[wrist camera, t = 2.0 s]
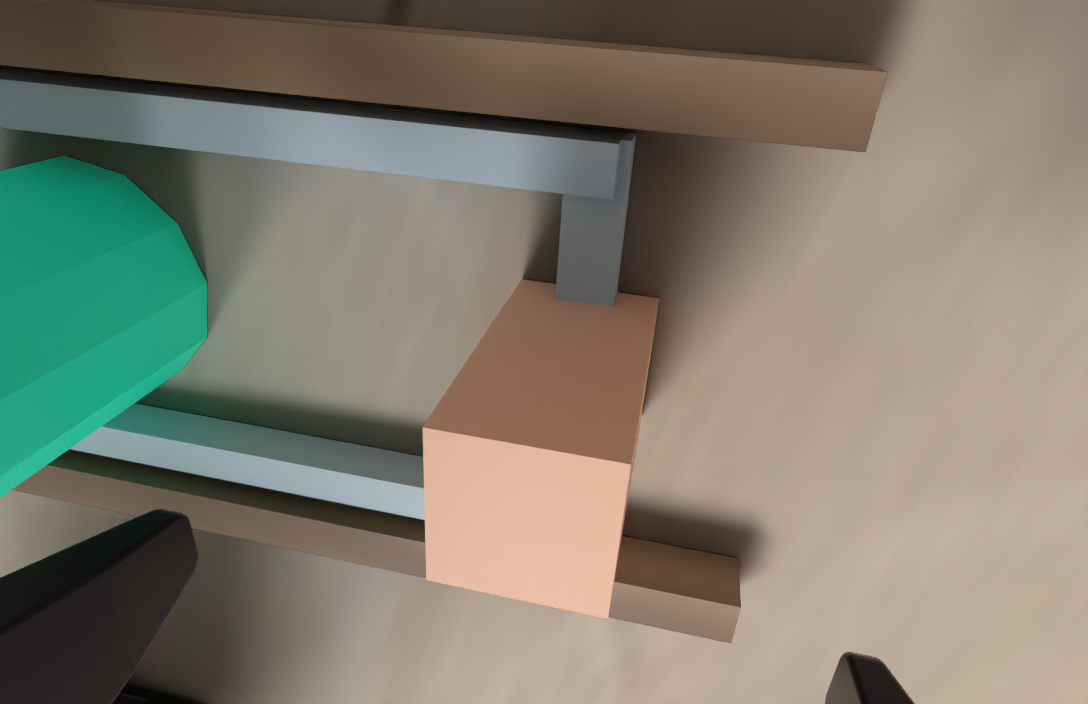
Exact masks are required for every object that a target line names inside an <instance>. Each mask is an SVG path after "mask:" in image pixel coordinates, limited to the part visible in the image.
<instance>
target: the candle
mask: <svg viewBox="0 0 1088 704" xmlns="http://www.w3.org/2000/svg"><path fill="white" fill-rule="evenodd" d="M206 338H207V282H206V280H205V278H204V276H203V274H202V272H201V270H200V268H199V266H198V264H197V262H196V260H195V257H194V255H193V253H192V251H191V249H190V247H189V245H188V243H187V241H186V239H185V237H184V235H183V233H182V231H181V229H180V227H179V225H178V223H177V222H176V221H175V220H174V219H172V218H171V217H170V216H169V215H168V214H167V213H166V212H165V211H164V210H162V209H161V208H160V207H159V206H158V205H157V204H156V203H155V202H154V201H153V200H151V199H150V198H149V197H148V196H147V195H146V194H145V193H144V192H143V191H141V190H140V189H139V188H138V187H137V186H136V185H135V184H134V183H133V182H132V181H130V180H129V179H128V178H127V177H126V176H125V175H123V174H120V173H117V172H114V171H111V170H108V169H104V168H101V167H98V166H95V165H92V164H89V163H86V162H83V161H80V160H77V159H73V158H70V157H67V156H60V157H56V158H52V159H48V160H44V161H40V162H35V163H31V164H27V165H23V166H19V167H15V168H11V169H7V170H3V171H0V498H1V497H2V496H3V495H5V494H6V493H8V492H9V491H11V490H12V489H13V488H15V487H16V486H18V485H19V484H21V483H22V482H23V481H25V480H26V479H28V478H29V477H31V476H32V475H33V474H35V473H36V472H38V471H39V470H40V469H42V468H43V467H45V466H46V465H48V464H49V463H50V462H52V461H53V460H55V459H56V458H58V457H59V456H60V455H62V454H63V453H65V452H66V451H67V450H69V449H70V448H72V447H73V446H75V445H76V444H77V443H79V442H80V441H82V440H83V439H85V438H86V437H87V436H89V435H90V434H92V433H93V432H95V431H96V430H97V429H99V428H100V427H102V426H103V425H104V424H106V423H107V422H109V421H110V420H112V419H113V418H114V417H116V416H117V415H119V414H120V413H122V412H123V411H124V410H126V409H127V408H129V407H130V406H131V405H133V404H134V403H136V402H137V401H139V400H140V399H141V398H143V397H144V396H146V395H147V394H149V393H150V392H151V391H153V390H154V389H156V388H157V387H159V386H160V385H161V384H163V383H164V382H166V381H167V380H168V379H170V378H171V377H173V376H174V375H176V374H177V373H178V372H180V371H181V370H182V369H183V367H184V366H185V365H186V363H187V362H188V361H189V360H190V358H191V357H192V356H193V355H194V353H195V352H196V351H197V349H198V348H199V347H200V346H201V344H202V343H203V342H204V341H205V339H206Z"/></svg>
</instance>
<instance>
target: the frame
mask: <svg viewBox="0 0 1088 704" xmlns="http://www.w3.org/2000/svg"><path fill="white" fill-rule="evenodd" d="M0 128H8V129H16V130H25V131H33V132H42V133H50V134H59V135H67V136H76V137H84V138H93V139H101V140H110V141H118V142H127V143H135V144H144V145H152V146H161V147H169V148H178V149H186V150H195V151H203V152H211V153H220V154H228V155H237V156H245V157H254V158H262V159H271V160H279V161H288V162H296V163H305V164H313V165H322V166H330V167H339V168H347V169H356V170H364V171H373V172H381V173H390V174H398V175H407V176H415V177H424V178H432V179H441V180H449V181H458V182H466V183H475V184H483V185H492V186H500V187H509V188H517V189H526V190H534V191H543V192H551V193H560V194H563V200H562V213H561V226H560V239H559V253H558V266H557V279H556V284H553V283H545V282H538V281H531V280H524V279H522V280H521V281H520V283H519V284H518V286H517V287H516V289H515V290H514V292H513V293H512V295H511V296H510V298H509V299H508V301H507V302H506V304H505V305H504V307H503V308H502V310H501V311H500V313H499V314H498V316H497V317H496V319H495V320H494V322H493V323H492V325H491V326H490V328H489V329H488V331H487V332H486V334H485V335H484V337H483V338H482V340H481V341H480V343H479V344H478V346H477V347H476V348H475V350H474V351H473V353H472V354H471V356H470V357H469V359H468V360H467V362H466V363H465V365H464V366H463V368H462V369H461V371H460V372H459V374H458V375H457V377H456V378H455V380H454V381H453V383H452V384H451V386H450V387H449V389H448V390H447V392H446V393H445V395H444V396H443V398H442V399H441V401H440V402H439V404H438V405H437V407H436V408H435V410H434V411H433V413H432V414H431V416H430V417H429V419H428V420H427V422H426V423H425V425H424V426H423V457H422V456H417V455H411V454H406V453H400V452H395V451H390V450H384V449H379V448H373V447H368V446H362V445H357V444H352V443H346V442H341V441H335V440H330V439H325V438H319V437H314V436H308V435H303V434H298V433H292V432H287V431H281V430H276V429H271V428H265V427H260V426H254V425H249V424H243V423H238V422H233V421H227V420H222V419H216V418H211V417H206V416H200V415H195V414H189V413H184V412H179V411H173V410H168V409H162V408H157V407H152V406H146V405H141V404H135V403H134V404H133V405H131V406H130V407H129V408H127V409H126V410H124V411H123V412H122V413H120V414H119V415H117V416H116V417H114V418H113V419H112V420H110V421H109V422H107V423H106V424H104V425H103V426H102V427H100V428H99V429H97V430H96V431H95V432H93V433H92V434H90V435H89V436H87V437H86V438H85V439H83V440H82V441H80V442H79V443H77V444H76V445H75V446H73V447H72V448H70V449H72V450H77V451H82V452H87V453H92V454H97V455H102V456H107V457H112V458H117V459H122V460H127V461H132V462H137V463H142V464H147V465H152V466H157V467H162V468H167V469H172V470H177V471H182V472H187V473H192V474H197V475H202V476H207V477H212V478H217V479H222V480H227V481H232V482H237V483H242V484H247V485H252V486H257V487H262V488H267V489H272V490H277V491H282V492H287V493H292V494H297V495H302V496H307V497H312V498H317V499H322V500H327V501H332V502H337V503H342V504H347V505H352V506H357V507H362V508H367V509H372V510H377V511H382V512H387V513H392V514H397V515H402V516H407V517H412V518H417V519H422V520H425V548H426V580H429V581H433V582H438V583H443V584H447V585H452V586H457V587H461V588H466V589H471V590H475V591H480V592H485V593H489V594H494V595H499V596H503V597H508V598H513V599H517V600H522V601H527V602H531V603H536V604H541V605H545V606H550V607H555V608H559V609H564V610H569V611H573V612H578V613H583V614H587V615H592V616H597V617H601V618H606V619H608V616H609V610H610V604H611V598H612V592H613V586H614V579H615V573H616V567H617V561H618V555H619V549H620V543H621V537H622V531H623V525H624V519H625V513H626V507H627V501H628V495H629V489H630V483H631V476H632V470H633V464H634V458H635V452H636V446H637V440H638V434H639V428H640V422H641V416H642V409H643V403H644V396H645V389H646V383H647V376H648V370H649V363H650V357H651V350H652V343H653V337H654V330H655V324H656V317H657V310H658V304H659V298H653V297H646V296H639V295H632V294H625V293H617V290H618V282H619V273H620V265H621V257H622V248H623V240H624V232H625V224H626V215H627V207H628V199H629V190H630V182H631V174H632V165H633V157H634V149H635V140H636V134H634V133H624V132H615V131H605V130H595V129H585V128H575V127H566V126H556V125H546V124H536V123H526V122H517V121H507V120H497V119H487V118H477V117H468V116H458V115H448V114H438V113H428V112H419V111H409V110H399V109H389V108H379V107H370V106H360V105H350V104H340V103H330V102H321V101H311V100H301V99H291V98H281V97H272V96H262V95H252V94H242V93H232V92H223V91H213V90H203V89H193V88H184V87H174V86H164V85H154V84H144V83H135V82H125V81H115V80H105V79H95V78H86V77H76V76H66V75H56V74H46V73H37V72H27V71H17V70H7V69H0Z"/></svg>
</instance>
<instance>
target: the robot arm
mask: <svg viewBox="0 0 1088 704" xmlns="http://www.w3.org/2000/svg"><path fill="white" fill-rule="evenodd" d="M197 560H198V554H197V549H196V545H195V541H194V536H193V532H192V527H191V523H190V520H189V518H188V517H187V515H186V514H184V513H181V512H177V511H172V510H167V509H155V510H153V511H150V512H148V513H145V514H143V515H141V516H139V517H136V518H134V519H132V520H130V521H127V522H125V523H123V524H121V525H118V526H116V527H114V528H112V529H109V530H107V531H105V532H103V533H100V534H98V535H96V536H94V537H91V538H89V539H87V540H85V541H82V542H80V543H78V544H76V545H73V546H71V547H69V548H66V549H64V550H62V551H60V552H57V553H55V554H53V555H51V556H48V557H46V558H44V559H42V560H39V561H37V562H35V563H33V564H30V565H28V566H26V567H24V568H21V569H19V570H17V571H15V572H12V573H10V574H8V575H6V576H3V577H1V578H0V704H191V703H187V702H183V701H179V700H176V699H172V698H168V697H164V696H160V695H156V694H152V693H148V692H145V691H141V690H137V689H133V688H129V687H125V684H126V683H127V681H128V680H129V679H130V677H131V676H132V674H133V673H134V671H135V670H136V668H137V667H138V665H139V664H140V662H141V660H142V659H143V657H144V656H145V654H146V652H147V651H148V649H149V647H150V646H151V644H152V642H153V641H154V639H155V637H156V636H157V634H158V632H159V630H160V629H161V627H162V625H163V624H164V622H165V620H166V619H167V617H168V615H169V614H170V612H171V610H172V609H173V607H174V605H175V604H176V602H177V600H178V598H179V597H180V595H181V593H182V592H183V590H184V588H185V587H186V585H187V583H188V582H189V580H190V578H191V577H192V575H193V573H194V571H195V568H196V565H197ZM825 704H915V703H914V702H913V701H912V700H911V698H910V697H909V696H908V694H907V693H906V692H905V690H904V689H903V688H902V686H901V685H900V684H899V682H898V681H897V680H896V678H895V677H894V676H893V674H892V673H891V672H890V670H889V669H888V668H887V666H886V665H885V664H884V663H883V662H882V661H881V660H880V659H878V658H876V657H872V656H867V655H862V654H857V653H853V652H846V653H844V654H843V655H842V657H841V658H840V660H839V663H838V666H837V668H836V671H835V673H834V676H833V679H832V681H831V684H830V686H829V689H828V692H827V695H826V699H825Z"/></svg>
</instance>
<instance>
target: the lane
mask: <svg viewBox="0 0 1088 704" xmlns="http://www.w3.org/2000/svg"><path fill="white" fill-rule="evenodd" d="M0 65H6V66H16V67H26V68H36V69H46V70H55V71H65V72H75V73H85V74H95V75H105V76H115V77H125V78H135V79H144V80H154V81H164V82H174V83H184V84H194V85H204V86H214V87H224V88H234V89H243V90H253V91H263V92H273V93H283V94H293V95H303V96H313V97H323V98H333V99H342V100H352V101H362V102H372V103H382V104H392V105H402V106H412V107H422V108H432V109H441V110H451V111H461V112H471V113H481V114H491V115H501V116H511V117H521V118H531V119H540V120H550V121H560V122H570V123H580V124H590V125H600V126H610V127H620V128H629V129H639V130H649V131H659V132H669V133H679V134H689V135H699V136H709V137H719V138H728V139H738V140H748V141H758V142H768V143H778V144H788V145H798V146H808V147H818V148H827V149H837V150H847V151H857V152H866V149H867V145H868V142H869V138H870V134H871V131H872V127H873V123H874V120H875V116H876V112H877V109H878V105H879V102H880V98H881V94H882V91H883V87H884V83H885V80H886V76H887V72H886V71H883V70H881V69H878V68H876V67H874V66H871V65H869V64H865V63H852V62H840V61H828V60H816V59H804V58H791V57H779V56H767V55H755V54H742V53H730V52H718V51H706V50H693V49H681V48H669V47H657V46H645V45H632V44H620V43H608V42H596V41H583V40H571V39H559V38H547V37H534V36H522V35H510V34H498V33H486V32H473V31H461V30H449V29H437V28H424V27H412V26H400V25H388V24H375V23H363V22H351V21H339V20H327V19H314V18H302V17H290V16H278V15H265V14H253V13H241V12H229V11H216V10H204V9H192V8H180V7H168V6H155V5H143V4H131V3H119V2H106V1H94V0H0ZM12 490H16V491H21V492H25V493H30V494H35V495H39V496H44V497H49V498H53V499H58V500H63V501H67V502H72V503H77V504H82V505H86V506H91V507H96V508H100V509H105V510H110V511H114V512H119V513H124V514H128V515H133V516H138V517H139V516H141V515H143V514H145V513H148V512H150V511H153V510H155V509H167V510H172V511H177V512H181V513H184V514H186V515H187V517H188V518H189V520H190V523H191V527H192V528H194V529H198V530H203V531H208V532H212V533H217V534H222V535H226V536H231V537H236V538H241V539H245V540H250V541H255V542H259V543H264V544H269V545H273V546H278V547H283V548H287V549H292V550H297V551H301V552H306V553H311V554H315V555H320V556H325V557H329V558H334V559H339V560H343V561H348V562H353V563H357V564H362V565H367V566H371V567H376V568H381V569H385V570H390V571H395V572H400V573H404V574H409V575H414V576H418V577H423V578H426V548H425V520H422V519H417V518H412V517H407V516H402V515H397V514H392V513H387V512H382V511H377V510H372V509H367V508H362V507H357V506H352V505H347V504H342V503H337V502H332V501H327V500H322V499H317V498H312V497H307V496H302V495H297V494H292V493H287V492H282V491H277V490H272V489H267V488H262V487H257V486H252V485H247V484H242V483H237V482H232V481H227V480H222V479H217V478H212V477H207V476H202V475H197V474H192V473H187V472H182V471H177V470H172V469H167V468H162V467H157V466H152V465H147V464H142V463H137V462H132V461H127V460H122V459H117V458H112V457H107V456H102V455H97V454H92V453H87V452H82V451H77V450H72V449H69V450H67V451H66V452H65V453H63V454H62V455H60V456H59V457H58V458H56V459H55V460H53V461H52V462H50V463H49V464H48V465H46V466H45V467H43V468H42V469H40V470H39V471H38V472H36V473H35V474H33V475H32V476H31V477H29V478H28V479H26V480H25V481H23V482H22V483H21V484H19V485H18V486H16V487H15V488H13V489H12ZM740 609H741V601H740V581H739V561H738V558H733V557H728V556H723V555H717V554H712V553H707V552H702V551H697V550H692V549H687V548H681V547H676V546H671V545H666V544H661V543H656V542H651V541H646V540H640V539H635V538H630V537H625V536H622V537H621V543H620V549H619V555H618V561H617V567H616V573H615V579H614V586H613V592H612V598H611V604H610V610H609V616H608V617H610V618H615V619H619V620H624V621H629V622H633V623H638V624H643V625H647V626H652V627H657V628H661V629H666V630H671V631H675V632H680V633H685V634H689V635H694V636H699V637H703V638H708V639H713V640H717V641H722V642H727V643H731V642H732V638H733V634H734V631H735V627H736V623H737V620H738V616H739V613H740Z"/></svg>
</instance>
